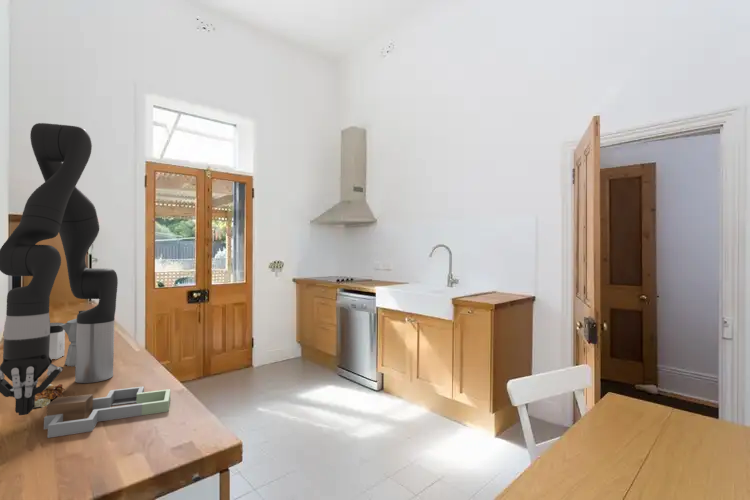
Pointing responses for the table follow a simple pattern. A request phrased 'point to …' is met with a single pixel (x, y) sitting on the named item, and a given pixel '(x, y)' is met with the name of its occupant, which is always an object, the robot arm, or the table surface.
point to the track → (111, 410)
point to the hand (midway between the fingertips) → (24, 413)
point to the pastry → (48, 395)
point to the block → (71, 407)
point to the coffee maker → (71, 332)
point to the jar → (56, 341)
